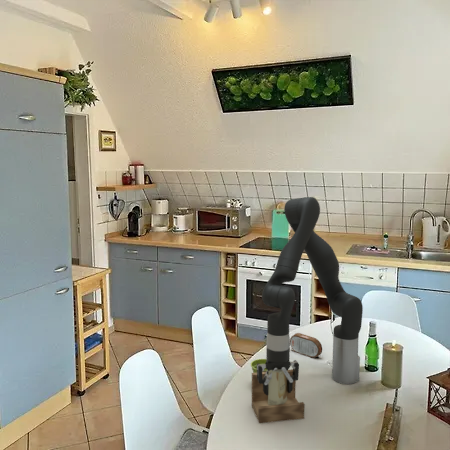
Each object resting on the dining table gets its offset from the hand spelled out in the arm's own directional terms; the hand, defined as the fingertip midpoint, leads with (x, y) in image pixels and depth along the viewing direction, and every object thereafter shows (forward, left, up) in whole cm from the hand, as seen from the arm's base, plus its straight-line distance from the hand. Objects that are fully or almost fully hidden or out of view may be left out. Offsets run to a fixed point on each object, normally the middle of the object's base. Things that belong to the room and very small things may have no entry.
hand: (277, 393), depth 153 cm
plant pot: (0, -18, -7) cm, 19 cm away
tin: (-25, -42, -7) cm, 49 cm away
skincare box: (0, 0, -4) cm, 4 cm away
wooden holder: (0, 0, -7) cm, 7 cm away
